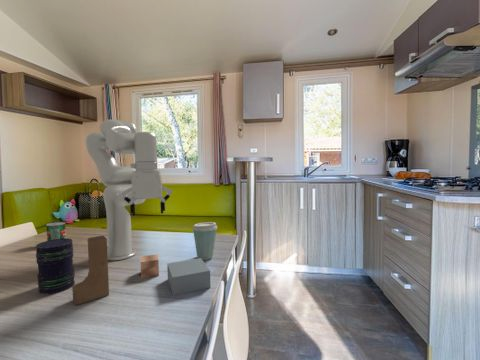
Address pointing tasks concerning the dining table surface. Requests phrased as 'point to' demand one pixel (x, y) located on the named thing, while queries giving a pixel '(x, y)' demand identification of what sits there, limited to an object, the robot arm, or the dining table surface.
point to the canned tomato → (56, 231)
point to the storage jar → (55, 266)
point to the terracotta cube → (149, 266)
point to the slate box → (188, 276)
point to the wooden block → (94, 273)
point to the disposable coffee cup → (205, 239)
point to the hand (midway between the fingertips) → (148, 214)
